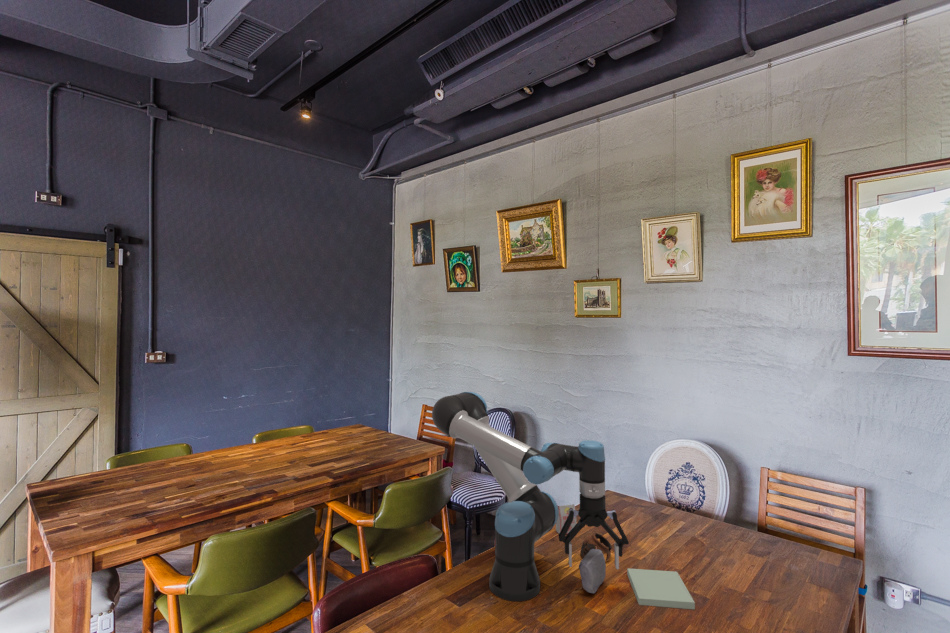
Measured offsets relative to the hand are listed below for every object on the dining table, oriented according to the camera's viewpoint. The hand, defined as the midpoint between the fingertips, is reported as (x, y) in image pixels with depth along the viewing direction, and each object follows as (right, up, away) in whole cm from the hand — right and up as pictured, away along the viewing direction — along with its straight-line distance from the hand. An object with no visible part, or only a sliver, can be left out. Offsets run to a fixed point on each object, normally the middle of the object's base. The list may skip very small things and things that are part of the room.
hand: (593, 565), depth 139 cm
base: (+19, -7, -1) cm, 20 cm away
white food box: (-1, -7, +38) cm, 38 cm away
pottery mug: (+3, -8, +18) cm, 20 cm away
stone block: (0, -7, 0) cm, 7 cm away
